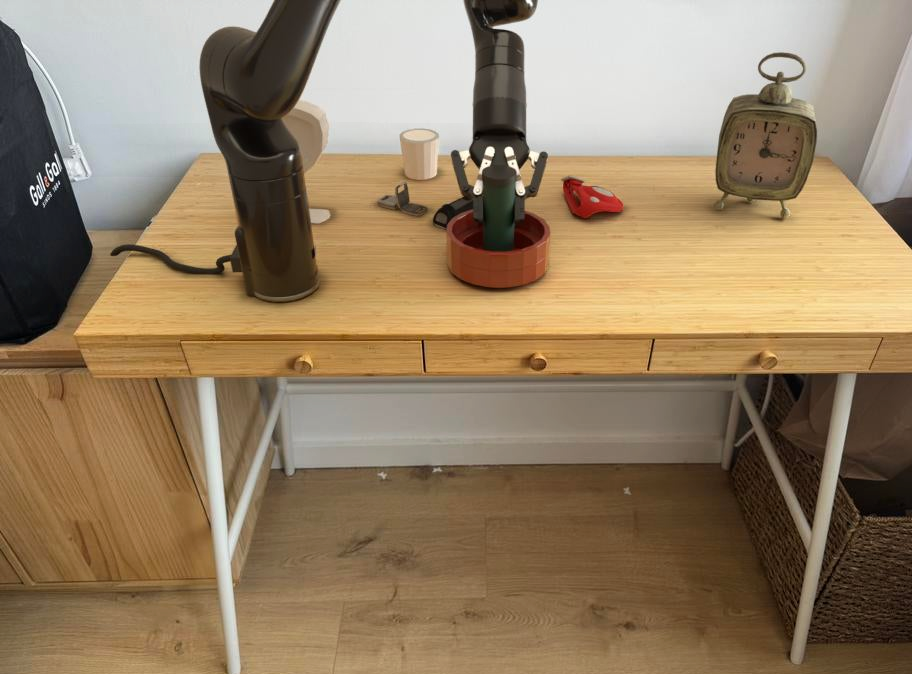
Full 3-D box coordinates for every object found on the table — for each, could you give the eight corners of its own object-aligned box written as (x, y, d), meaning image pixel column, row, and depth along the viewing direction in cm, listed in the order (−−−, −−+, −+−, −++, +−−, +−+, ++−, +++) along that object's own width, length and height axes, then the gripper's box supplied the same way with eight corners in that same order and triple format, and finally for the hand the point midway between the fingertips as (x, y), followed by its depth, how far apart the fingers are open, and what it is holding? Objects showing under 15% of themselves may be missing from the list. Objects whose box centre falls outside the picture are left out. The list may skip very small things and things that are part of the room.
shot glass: (398, 167, 146) (395, 129, 142) (435, 164, 148) (434, 126, 143) (405, 183, 141) (403, 143, 136) (444, 179, 142) (443, 140, 138)
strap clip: (375, 205, 134) (373, 181, 131) (386, 198, 136) (384, 174, 133) (419, 217, 130) (417, 192, 128) (429, 210, 133) (428, 185, 130)
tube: (481, 260, 115) (481, 178, 108) (482, 244, 119) (482, 164, 111) (514, 260, 115) (517, 179, 108) (514, 244, 119) (516, 165, 112)
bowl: (445, 292, 112) (444, 253, 109) (449, 242, 124) (448, 205, 120) (550, 293, 113) (553, 254, 109) (545, 243, 124) (547, 207, 121)
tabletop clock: (705, 213, 134) (734, 56, 119) (708, 191, 141) (736, 39, 126) (796, 224, 131) (838, 65, 116) (794, 201, 138) (833, 48, 123)
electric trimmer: (510, 200, 137) (510, 182, 135) (448, 231, 127) (448, 212, 125) (492, 194, 139) (493, 176, 137) (430, 224, 129) (430, 205, 127)
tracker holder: (632, 196, 136) (617, 205, 127) (622, 220, 138) (606, 231, 129) (568, 166, 138) (548, 174, 130) (559, 190, 140) (539, 199, 132)
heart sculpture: (235, 218, 128) (212, 104, 118) (245, 205, 132) (224, 93, 122) (332, 224, 128) (318, 110, 117) (339, 210, 132) (327, 98, 121)
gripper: (447, 93, 110) (445, 215, 108) (552, 95, 111) (552, 216, 109) (450, 118, 118) (448, 232, 116) (548, 120, 118) (548, 233, 116)
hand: (499, 224), depth 112 cm, fingers closed on tube, 4 cm apart
